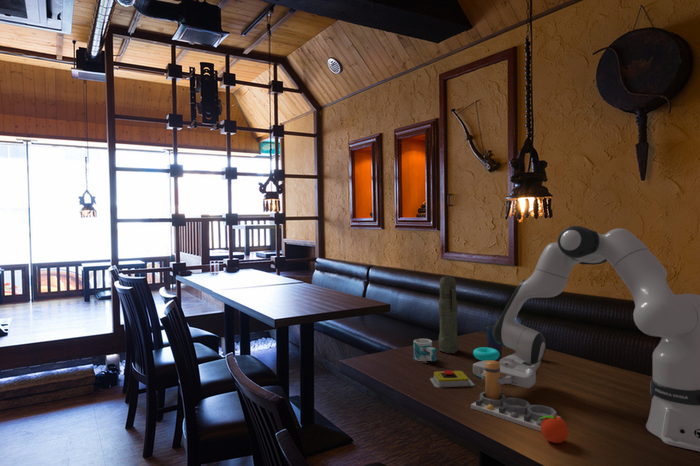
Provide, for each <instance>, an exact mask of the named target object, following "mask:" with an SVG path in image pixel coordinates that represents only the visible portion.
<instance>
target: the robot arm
mask: <svg viewBox="0 0 700 466" xmlns="http://www.w3.org/2000/svg"><path fill="white" fill-rule="evenodd" d="M607 262H608V263H609V265H611V267H612V268H613V270H614V271H615V273H617V275H618V276H619V278H620V279H621V281H622V282H623V283H624V284H625V286H626V287H627V288H628V290H629V292H630V295H631V296H632V299H633V302H634V309H633V321H634V324H635V326H636V327H637V328H638V330H640V331H641V332H642V333H643V334H646V335H647V336H651V337H657V338H661V339H660V341H659V343H658V345H657V346H656V347H655V348H654V350H653V352H652V378H651V379H650V384H649V385H650V386H649V389H650V390H649V393H650V399H651V403H650V404H651V405H650V410H649V415H648V419H647V422H646V424H645V428H646V429H647V431H648V432H650V433H651V434H652V435H654V436H656V437H657V438H659V439H660V440H661V441H662V442H663V443H664V444H667V445H669V446H673V447H678V448H681V449H687V450H691V451H697V452H699V453H700V294H695V293H682V294H676V293H674V292H673V291H672V290H671V288H670V286H669V283H668V280H667V277H668V271H667V268H666V267H664V266H663V264H662V263H661V262H660V260H658V258H657V257H656V256H655V254H653V253H652V251H651V250H650V249H649V247H647V246H646V244H645V243H644V242H642V240H641V239H640V238H639V237H637V236H636V235H635V234H633V233H632V232H631V231H630V230H628V229H626V228H621V227H620V228H614V229H613V228H612V229H611V230H609V231H607V232H606V233H604V234H601V233H599V232H598V231H596V230H593V229H590V228H588V227H585V226H582V225H580V226H579V225H571V226H568V227H565V228H564V229H563V230H562V231H561V232H560V233H559V235H558V237H557V242H550V243H548V244H547V245H546V246H545V248H544V249H543V251H542V253H541V254H540V257H539V258H538V261H537V263H536V266H535V269H534V271H533V272H532V274H531V276H529V277H528V278H527V279H522V280H521V281H520V282H519V284H518V285H517V287H515V290H514V292H513V293H512V295H511V296H510V299H509V301H508V302H507V303H506V305H505V307H504V309H503V311H502V313H501V314H500V316H499V317H498V319H497V320H496V322H495V323H494V325H493V326H494V327H493V329H492V335H493V338H494V340H495V341H496V343H498V344H500V345H502V347H505V348H509V349H511V350H513V351H515V352H513V353H511V354H509V355H506V356H504V357H501V360H500V361H499V363H500V378H498V379H497V381H498V384H500V386H502V385H505V384H506V385H507V384H510V385H514V386H517V387H519V388H520V387H521V388H524V389H530V388H532V387H533V386H535V385H536V381H537V369H538V368H539V367H540V365H541V361H542V360H543V357H544V356H545V353H546V350H547V343H546V339H545V336H544V335H543V333H542V332H539V331H537V330H535V329H533V328H530V327H527V326H526V325H524V324H521V323H518V322H517V321H516V318H517V316H518V313H519V312H520V310H521V309H522V307H523V305H524V303H525V302H527V300H529V299H534V298H545V299H548V298H554V297H556V296H559V295H560V294H561V293H562V292H563V291H564V290H565V288H566V286H567V283H568V280H569V277H570V275H571V272H572V269H573V268H574V266H575V265H577V264H580V265H590V266H591V265H592V266H595V265H600V264H605V263H607ZM472 373H473V374H474V375H475V376H477V375H479V376H481V377H480V378H481V380H484V381H485V361H482V360H479V361H477V362H475V363H473V364H472Z"/></svg>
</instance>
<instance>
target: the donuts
mask: <svg viewBox="0 0 700 466" xmlns="http://www.w3.org/2000/svg"><path fill="white" fill-rule="evenodd" d="M472 354H473V357H474V358H475V359H477V360H479V361H489V360H493V361H494V360H497V359H498V358H499V356H500V353H499V352H498V351H497V350H496V349H493V348H488V346H487V347H485V346H484V347H477V348H475V349H473V352H472ZM476 376H477V377H479V378H481V376H479V375H476Z"/></svg>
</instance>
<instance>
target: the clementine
mask: <svg viewBox="0 0 700 466" xmlns="http://www.w3.org/2000/svg"><path fill="white" fill-rule="evenodd" d="M558 416H559V415H557V416H554V415H551V416H549V415H548V416H543V417H541V418H540V419H542V418H544V419H543V420H542V422H541V431H542V432H541V431H540V432H541V434H542V436H543V437H544V439H546V440H547V441H549V442H550V443H552V444H553V443H554V444H560V443H563V442H564V441H566V440H567V438H568V437H569V426H568V425H567V423H566V421H565V420H564V419H563V418H560V417H561V416H560V417H558ZM540 419H538V420H540ZM537 422H538V421H537Z"/></svg>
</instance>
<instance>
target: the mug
mask: <svg viewBox="0 0 700 466" xmlns="http://www.w3.org/2000/svg"><path fill="white" fill-rule="evenodd" d="M414 359H415V360H417V361H425V362H424V363H427V362H426V361H431V362H436V361H437V348H436V347H433V340H431V339H429V338H417V339H414V340H413V360H414ZM415 360H414V361H415ZM417 361H416V362H417Z"/></svg>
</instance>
